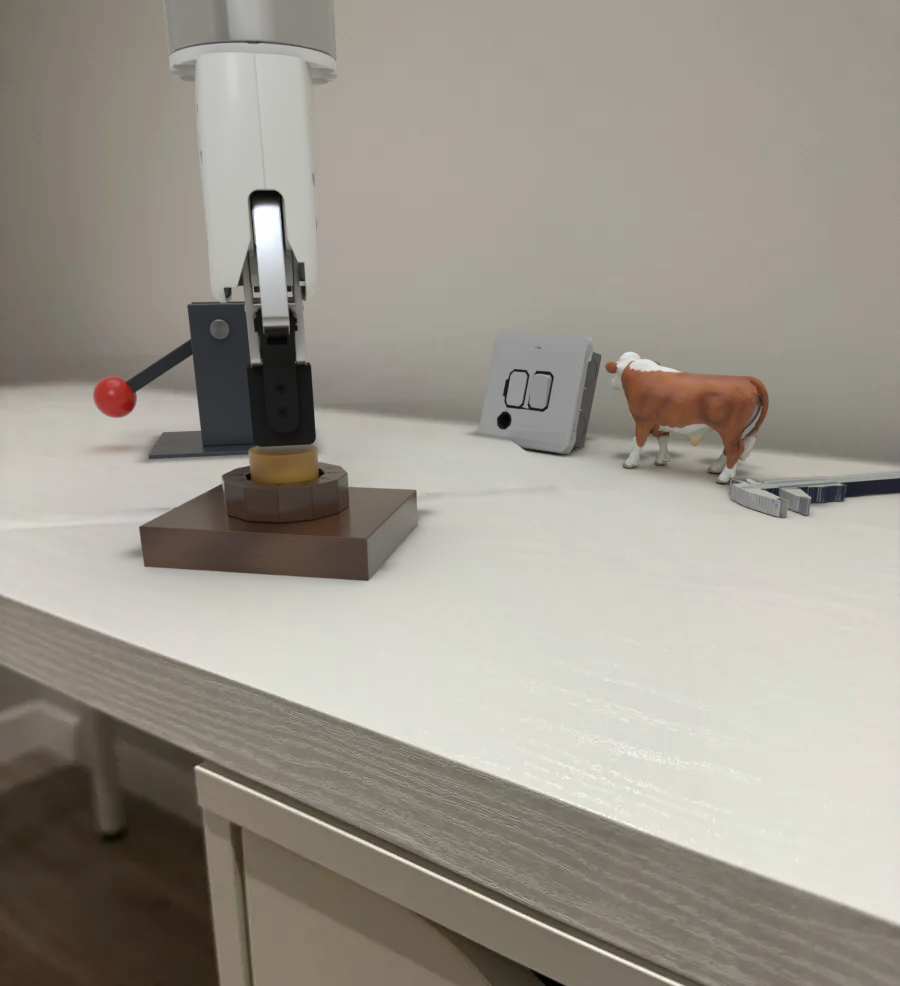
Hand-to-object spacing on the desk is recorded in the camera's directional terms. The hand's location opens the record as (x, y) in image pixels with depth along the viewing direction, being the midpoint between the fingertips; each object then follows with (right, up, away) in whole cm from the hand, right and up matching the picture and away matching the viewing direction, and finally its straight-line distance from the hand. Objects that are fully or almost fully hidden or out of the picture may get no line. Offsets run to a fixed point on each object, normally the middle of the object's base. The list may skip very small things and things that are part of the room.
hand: (285, 442), depth 46 cm
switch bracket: (-9, +4, +26) cm, 28 cm away
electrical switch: (+16, +5, +29) cm, 33 cm away
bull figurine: (+25, +1, +19) cm, 32 cm away
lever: (-13, +9, +23) cm, 28 cm away
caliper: (+38, -1, +10) cm, 39 cm away
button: (0, -2, +1) cm, 2 cm away
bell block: (0, -5, +2) cm, 6 cm away
